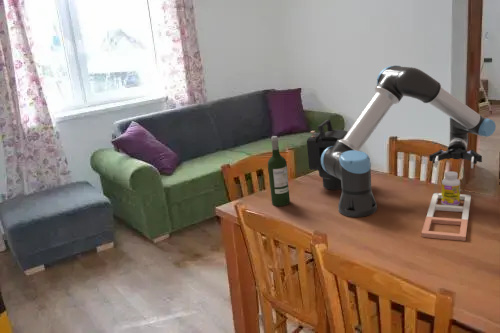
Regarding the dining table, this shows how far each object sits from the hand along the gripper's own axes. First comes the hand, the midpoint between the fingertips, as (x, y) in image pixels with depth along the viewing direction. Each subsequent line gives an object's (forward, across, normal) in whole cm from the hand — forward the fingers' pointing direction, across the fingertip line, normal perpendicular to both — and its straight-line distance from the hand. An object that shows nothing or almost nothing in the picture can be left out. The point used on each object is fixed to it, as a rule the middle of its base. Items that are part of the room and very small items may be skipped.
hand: (453, 164), depth 196 cm
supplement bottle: (+10, 0, -13) cm, 17 cm away
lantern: (-4, +52, -13) cm, 54 cm away
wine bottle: (+21, +68, -12) cm, 73 cm away
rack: (+22, 0, -13) cm, 26 cm away
